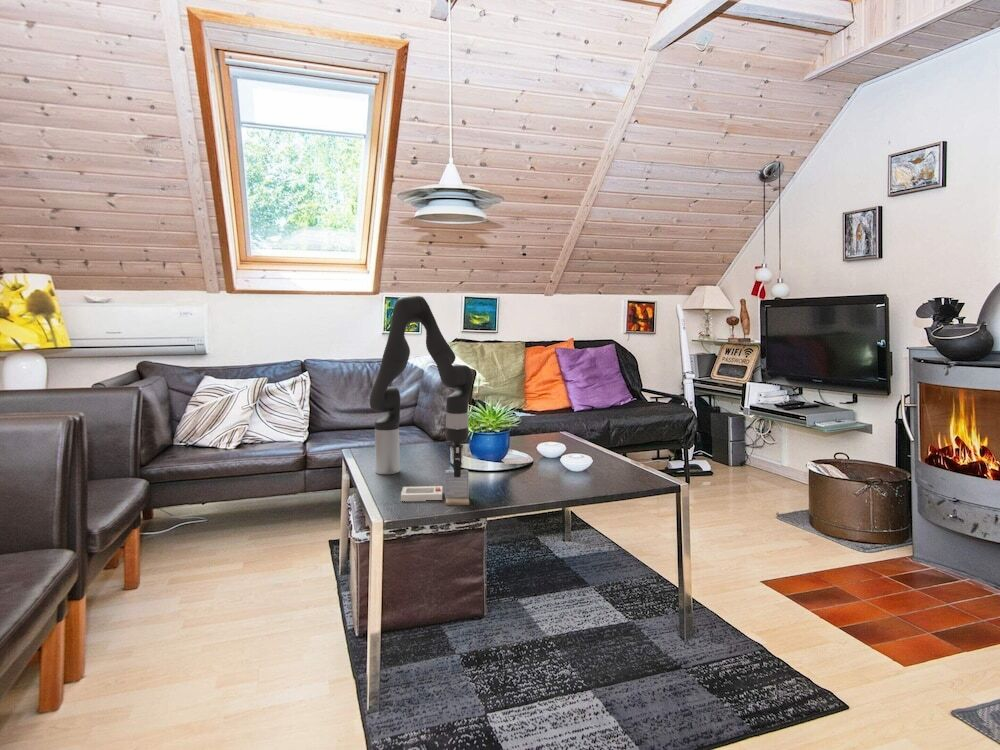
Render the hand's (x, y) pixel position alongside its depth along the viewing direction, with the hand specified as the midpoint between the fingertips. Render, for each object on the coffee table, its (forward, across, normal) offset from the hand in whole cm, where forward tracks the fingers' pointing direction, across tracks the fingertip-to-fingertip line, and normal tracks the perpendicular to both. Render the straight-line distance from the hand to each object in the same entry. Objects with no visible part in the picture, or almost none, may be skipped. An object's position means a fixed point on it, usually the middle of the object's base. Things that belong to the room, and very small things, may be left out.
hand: (457, 473), depth 216 cm
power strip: (+9, -7, -12) cm, 16 cm away
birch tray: (+8, 0, 0) cm, 9 cm away
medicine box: (+8, 0, 0) cm, 8 cm away
